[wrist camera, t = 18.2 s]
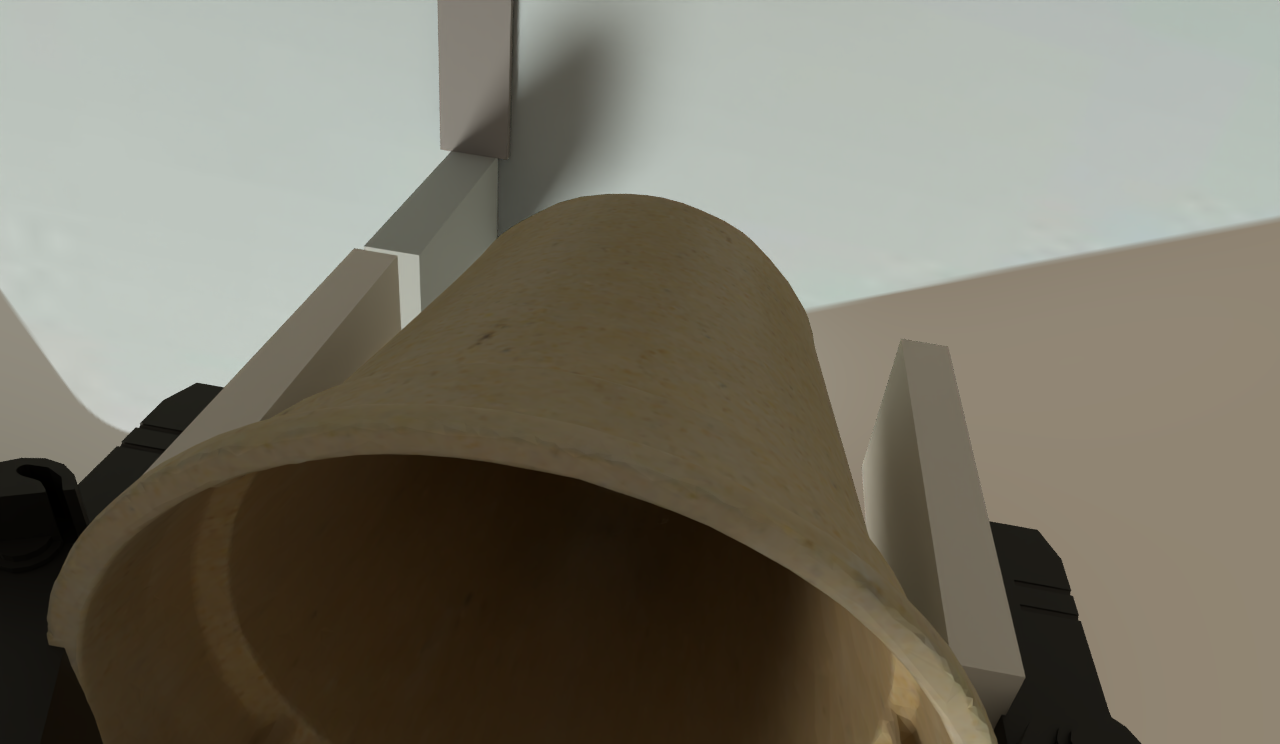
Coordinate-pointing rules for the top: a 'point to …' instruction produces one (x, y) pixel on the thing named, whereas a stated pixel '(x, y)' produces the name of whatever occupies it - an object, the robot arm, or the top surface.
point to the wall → (457, 157)
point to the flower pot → (526, 529)
